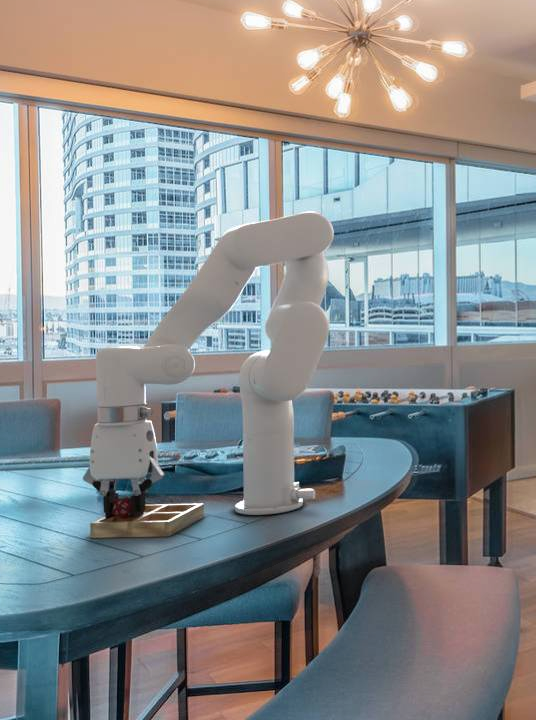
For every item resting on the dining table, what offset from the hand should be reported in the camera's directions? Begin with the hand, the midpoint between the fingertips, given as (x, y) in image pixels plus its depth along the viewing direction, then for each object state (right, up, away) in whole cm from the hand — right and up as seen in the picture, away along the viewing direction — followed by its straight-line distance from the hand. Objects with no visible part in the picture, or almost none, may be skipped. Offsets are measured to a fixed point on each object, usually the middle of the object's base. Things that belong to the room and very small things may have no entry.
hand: (124, 515), depth 145 cm
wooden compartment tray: (+3, -3, +3) cm, 5 cm away
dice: (0, -1, 0) cm, 1 cm away
